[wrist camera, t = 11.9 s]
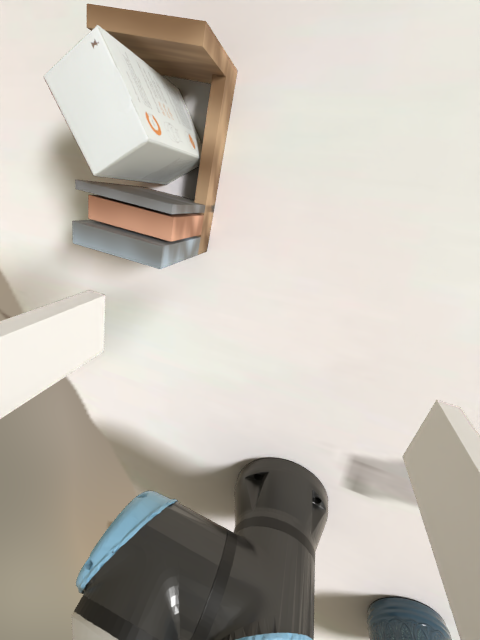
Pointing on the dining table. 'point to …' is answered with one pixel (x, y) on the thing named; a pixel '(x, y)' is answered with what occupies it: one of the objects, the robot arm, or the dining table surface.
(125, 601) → the robot arm
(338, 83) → the dining table surface
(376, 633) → the canister
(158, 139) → the small box
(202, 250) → the book rack
